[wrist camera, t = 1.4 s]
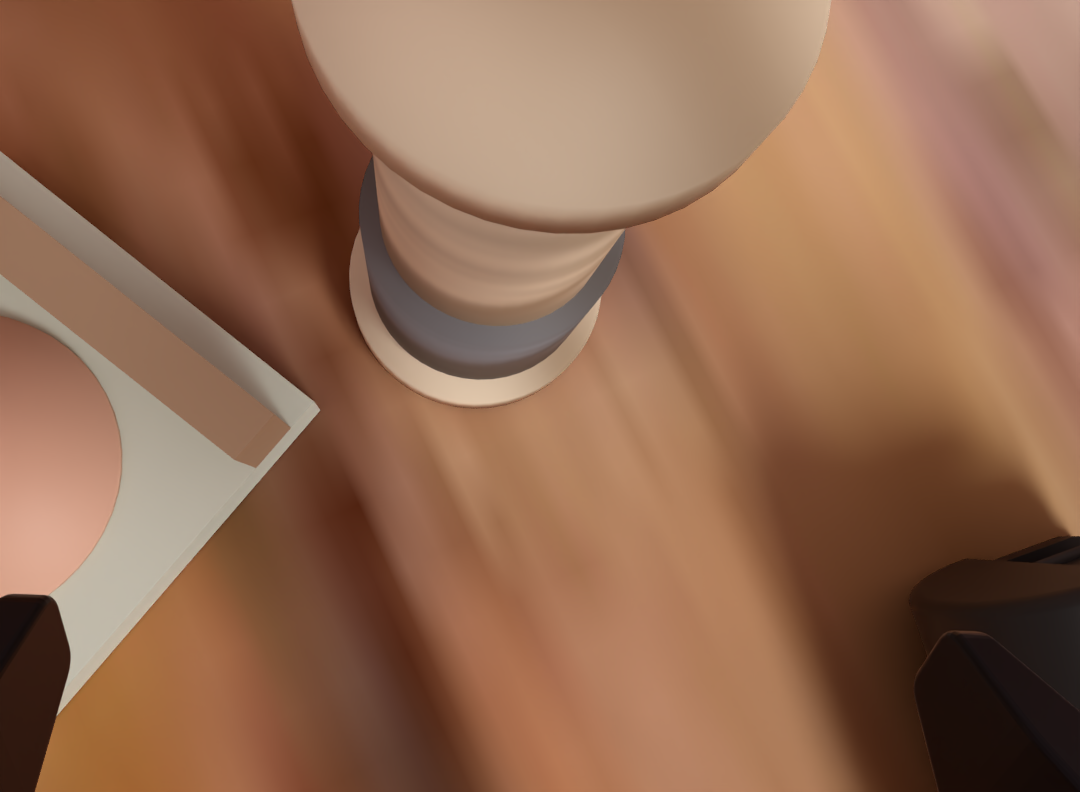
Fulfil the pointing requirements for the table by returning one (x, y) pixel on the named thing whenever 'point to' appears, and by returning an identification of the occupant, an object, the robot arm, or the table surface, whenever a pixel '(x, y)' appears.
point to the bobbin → (534, 160)
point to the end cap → (1013, 608)
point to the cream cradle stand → (115, 423)
